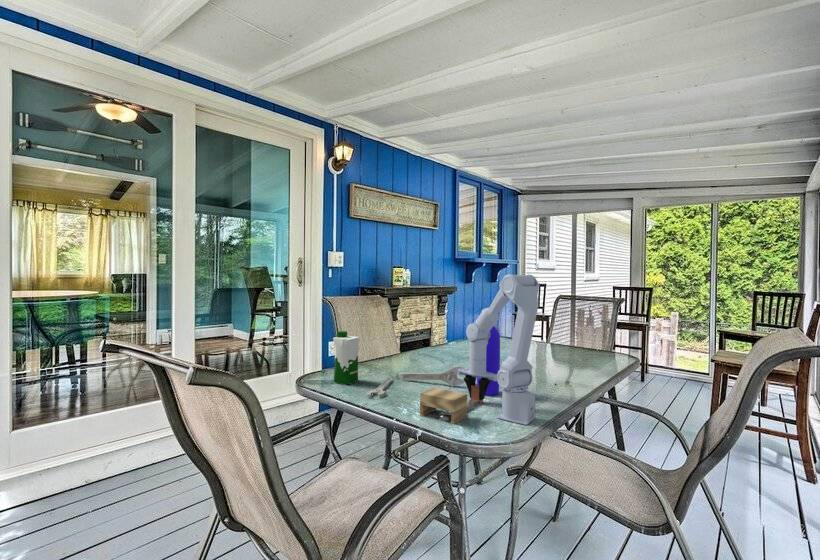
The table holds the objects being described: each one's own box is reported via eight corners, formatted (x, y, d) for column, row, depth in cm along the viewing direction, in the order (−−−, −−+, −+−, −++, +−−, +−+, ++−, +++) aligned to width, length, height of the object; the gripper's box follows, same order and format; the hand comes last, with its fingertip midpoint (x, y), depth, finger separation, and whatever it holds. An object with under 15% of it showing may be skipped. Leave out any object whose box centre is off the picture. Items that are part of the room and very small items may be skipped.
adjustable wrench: (386, 381, 173) (386, 377, 173) (401, 382, 171) (401, 378, 171) (364, 398, 149) (364, 393, 148) (381, 400, 147) (381, 395, 147)
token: (456, 419, 128) (456, 414, 128) (449, 423, 125) (449, 418, 125) (443, 416, 131) (443, 411, 131) (436, 420, 127) (436, 415, 127)
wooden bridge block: (466, 416, 130) (467, 394, 130) (453, 424, 123) (454, 400, 123) (433, 409, 137) (434, 387, 137) (419, 415, 130) (420, 393, 130)
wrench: (398, 386, 175) (468, 386, 163) (396, 387, 173) (467, 387, 161) (396, 366, 175) (466, 365, 163) (394, 367, 174) (465, 366, 162)
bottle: (502, 392, 157) (504, 312, 157) (494, 397, 150) (495, 313, 150) (482, 388, 162) (483, 310, 161) (472, 393, 155) (474, 312, 154)
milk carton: (343, 378, 175) (343, 330, 175) (361, 380, 171) (362, 331, 171) (330, 382, 167) (330, 332, 167) (349, 385, 163) (350, 334, 163)
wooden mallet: (482, 402, 145) (483, 385, 145) (458, 415, 131) (459, 396, 131) (474, 400, 146) (475, 383, 146) (450, 413, 133) (450, 394, 133)
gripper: (502, 359, 143) (501, 399, 143) (464, 354, 152) (463, 392, 152) (493, 363, 137) (492, 404, 138) (454, 357, 146) (454, 396, 146)
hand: (477, 398), depth 144 cm, fingers open, 3 cm apart
